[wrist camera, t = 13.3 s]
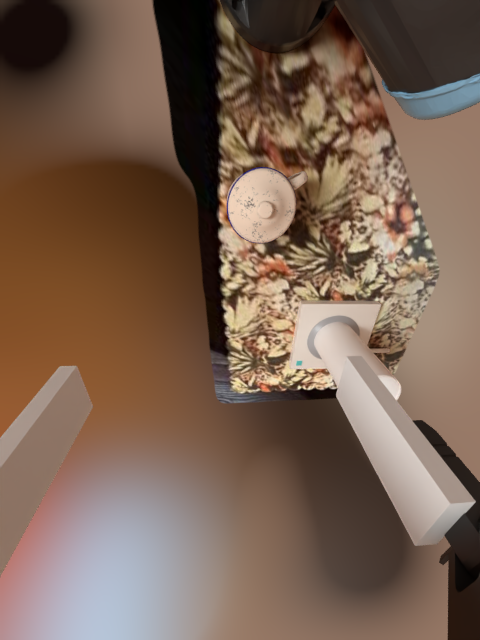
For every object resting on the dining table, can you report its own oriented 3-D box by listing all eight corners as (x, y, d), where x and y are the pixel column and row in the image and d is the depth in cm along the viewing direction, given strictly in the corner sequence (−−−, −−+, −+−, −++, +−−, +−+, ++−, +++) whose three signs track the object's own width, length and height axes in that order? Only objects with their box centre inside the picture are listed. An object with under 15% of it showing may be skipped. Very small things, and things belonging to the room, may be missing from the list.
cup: (359, 325, 52) (412, 380, 38) (342, 357, 55) (384, 417, 41) (323, 318, 50) (363, 372, 36) (308, 351, 54) (339, 412, 40)
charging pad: (299, 300, 50) (302, 304, 48) (407, 301, 52) (413, 304, 50) (288, 364, 57) (290, 369, 56) (382, 363, 59) (386, 367, 58)
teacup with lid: (243, 242, 43) (251, 262, 33) (214, 191, 39) (212, 195, 29) (307, 202, 41) (336, 211, 31) (283, 144, 37) (308, 131, 27)
